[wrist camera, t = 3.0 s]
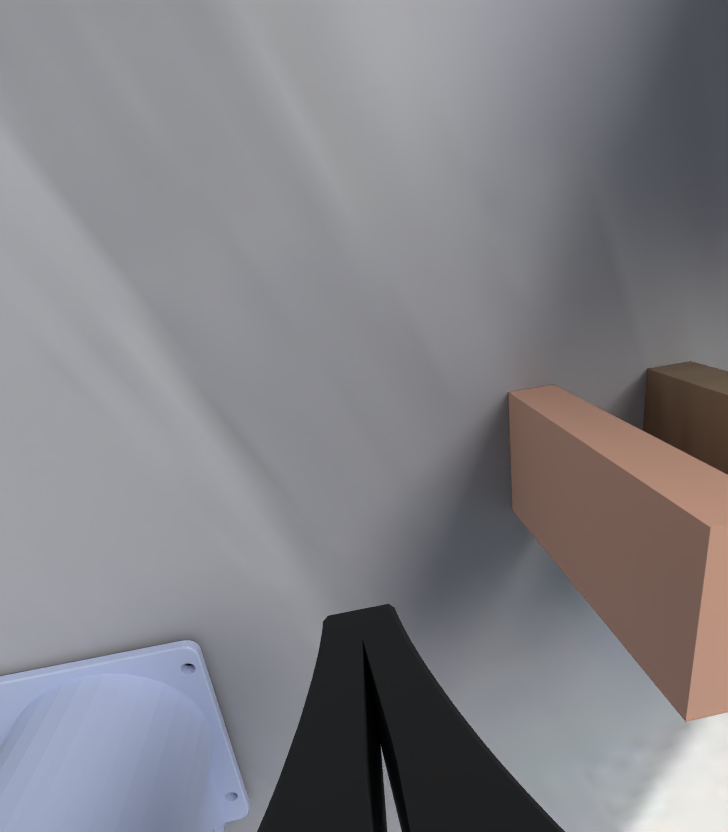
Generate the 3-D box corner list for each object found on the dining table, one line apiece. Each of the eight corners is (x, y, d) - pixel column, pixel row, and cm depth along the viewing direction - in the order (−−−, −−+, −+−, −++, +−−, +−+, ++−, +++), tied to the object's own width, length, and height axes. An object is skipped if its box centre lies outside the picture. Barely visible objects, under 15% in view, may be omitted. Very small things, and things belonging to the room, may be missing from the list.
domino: (553, 502, 18) (758, 705, 10) (512, 509, 18) (685, 721, 10) (553, 384, 16) (797, 510, 8) (508, 392, 16) (710, 527, 8)
